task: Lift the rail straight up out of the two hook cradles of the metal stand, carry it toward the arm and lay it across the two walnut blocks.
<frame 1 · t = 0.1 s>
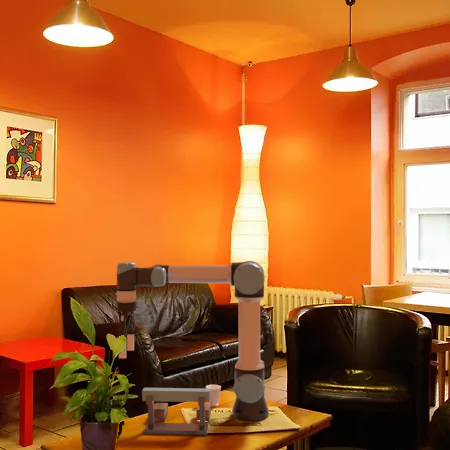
hand: (126, 354, 232), 28 cm above the table, tool pointing down, fingers open, 13 cm apart
cup: (210, 405, 255), on the table
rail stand: (176, 430, 224), on the table
controller: (116, 437, 219), on the table
rail: (176, 399, 224), point 12 cm above the table, touching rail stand
rest blocks: (181, 418, 238), on the table
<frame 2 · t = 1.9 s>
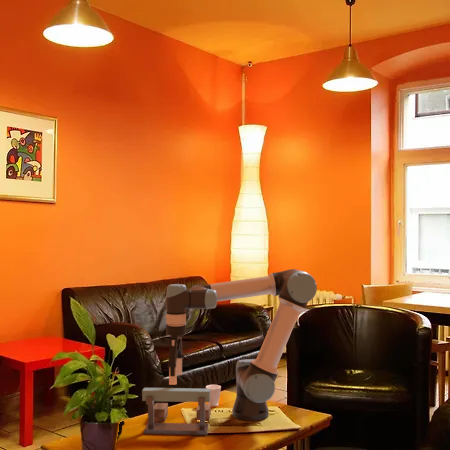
hand: (175, 379, 224), 20 cm above the table, tool pointing down, fingers open, 13 cm apart
nothing on the table moved.
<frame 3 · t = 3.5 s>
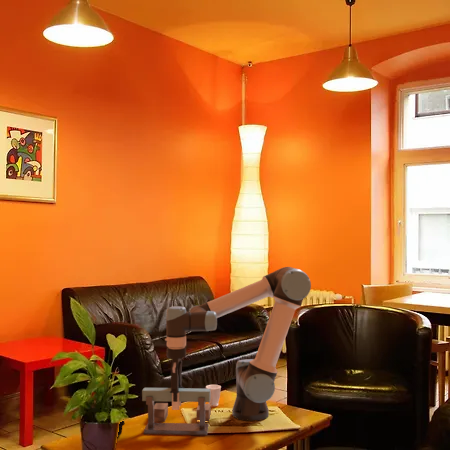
hand: (176, 407, 224), 9 cm above the table, tool pointing down, fingers closed on rail, 4 cm apart
rail: (176, 399, 224), point 12 cm above the table, touching gripper, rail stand
everything else where it was.
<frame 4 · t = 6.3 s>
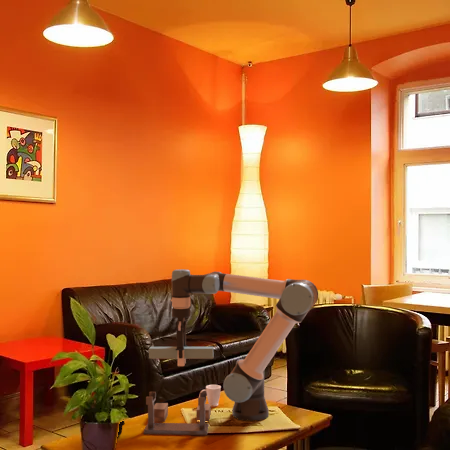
hand: (181, 364, 237), 23 cm above the table, tool pointing down, fingers closed on rail, 4 cm apart
rail: (181, 357, 237), point 25 cm above the table, touching gripper
everything else where it was.
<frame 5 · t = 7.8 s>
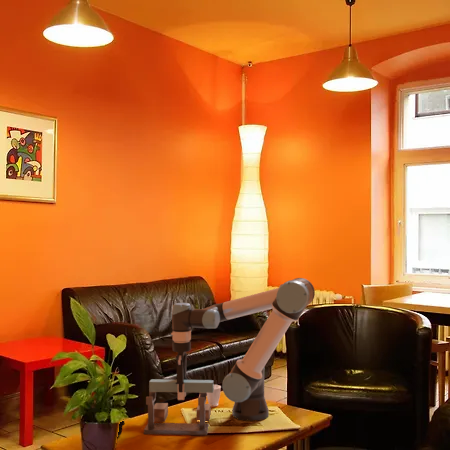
hand: (181, 397, 238), 9 cm above the table, tool pointing down, fingers closed on rail, 4 cm apart
rail: (181, 390, 238), point 11 cm above the table, touching gripper
everything else where it was.
when the fingers open (3 cm above the table, at t = 9.2 s): rail stays where it is, resting on rest blocks.
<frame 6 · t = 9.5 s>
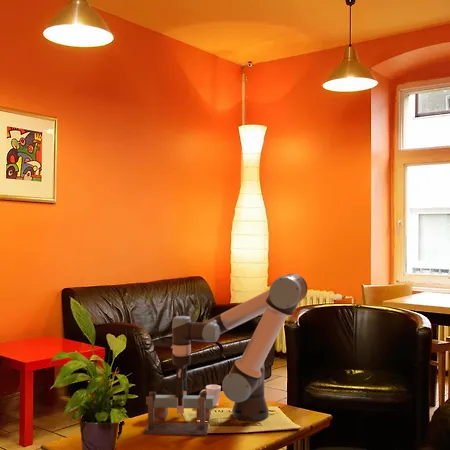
hand: (181, 409, 238), 4 cm above the table, tool pointing down, fingers open, 8 cm apart
rail: (181, 406, 238), point 5 cm above the table, touching rest blocks
everything else where it was.
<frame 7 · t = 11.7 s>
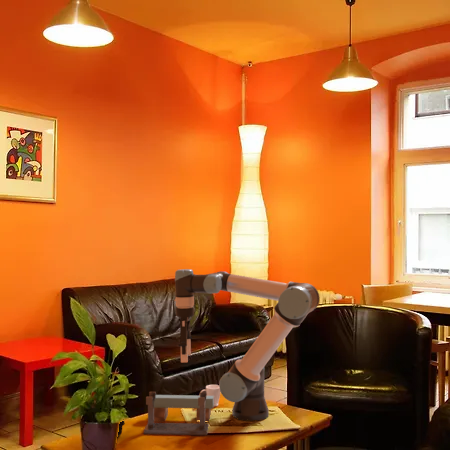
hand: (186, 358, 239), 24 cm above the table, tool pointing down, fingers open, 13 cm apart
nothing on the table moved.
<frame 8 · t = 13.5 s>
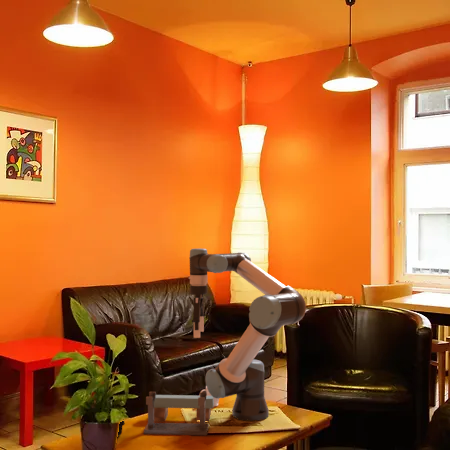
hand: (198, 334, 247), 33 cm above the table, tool pointing down, fingers open, 13 cm apart
nothing on the table moved.
at the end: rail 0.0 cm off-centre on the rest blocks, point 5.0 cm above the rest blocks's base; rail tilted 0°; the gripper is holding nothing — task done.
